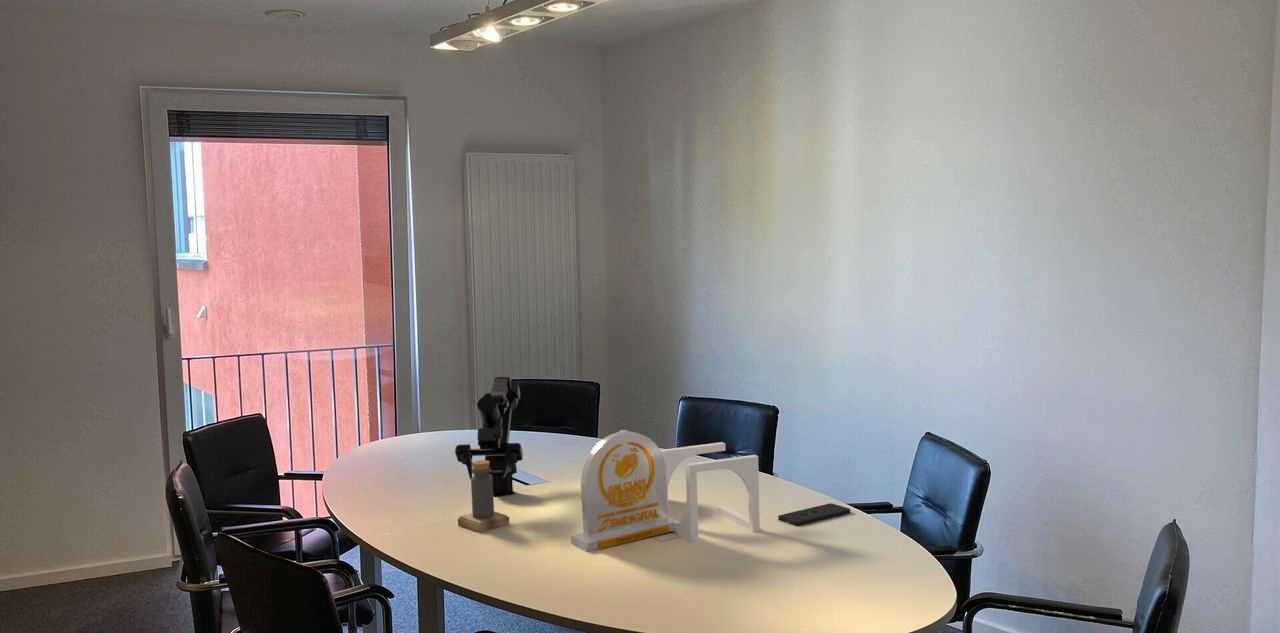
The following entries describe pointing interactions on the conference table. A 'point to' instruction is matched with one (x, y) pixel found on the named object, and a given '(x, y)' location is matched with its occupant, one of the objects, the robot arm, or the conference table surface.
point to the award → (623, 492)
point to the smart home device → (814, 514)
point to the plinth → (483, 522)
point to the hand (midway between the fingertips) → (486, 478)
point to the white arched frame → (740, 465)
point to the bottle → (482, 490)
